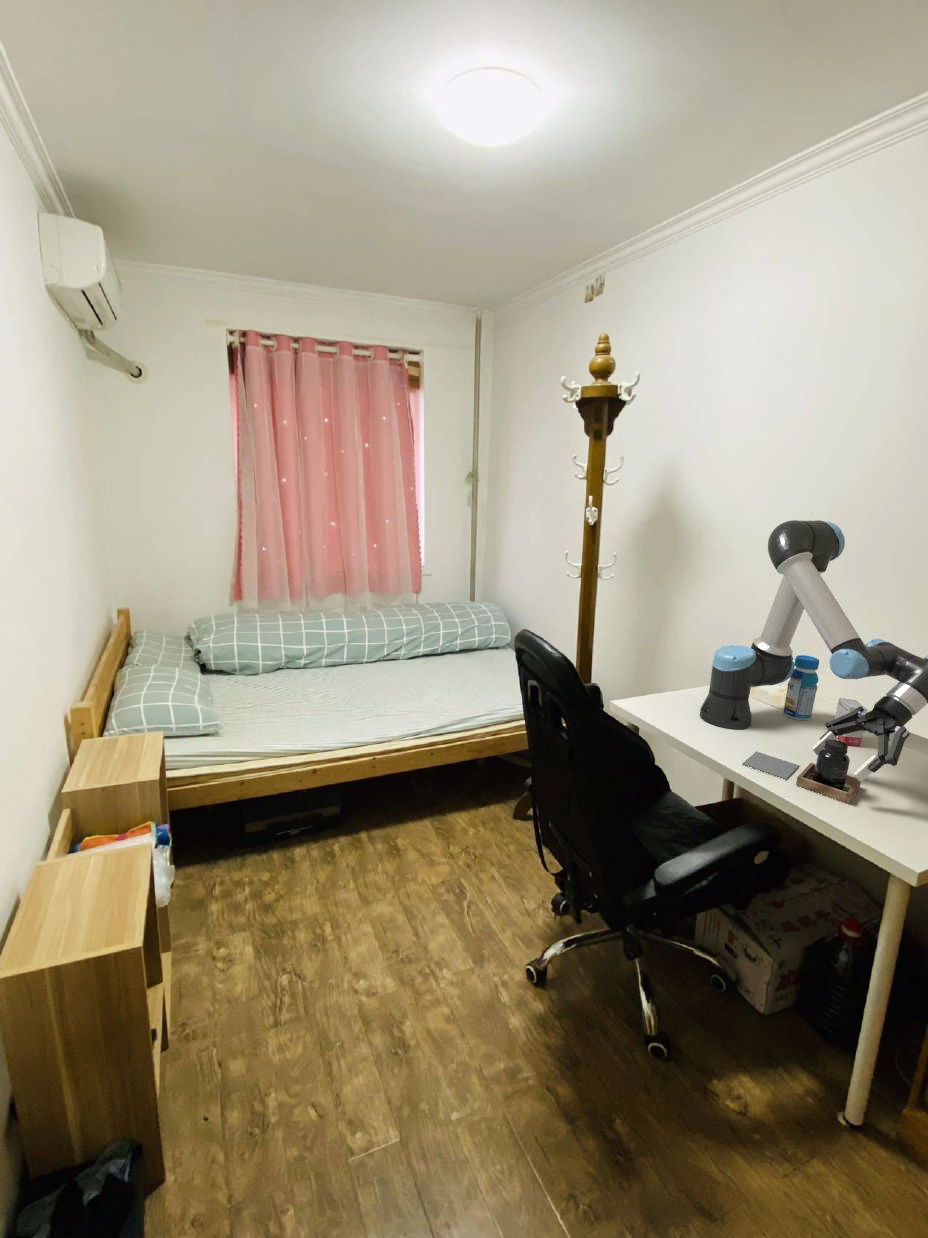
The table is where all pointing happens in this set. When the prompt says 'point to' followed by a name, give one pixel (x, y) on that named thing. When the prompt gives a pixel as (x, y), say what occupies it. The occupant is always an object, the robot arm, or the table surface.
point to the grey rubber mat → (771, 765)
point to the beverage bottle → (802, 688)
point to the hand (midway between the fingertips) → (835, 764)
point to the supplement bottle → (832, 764)
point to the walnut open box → (828, 790)
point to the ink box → (845, 708)
